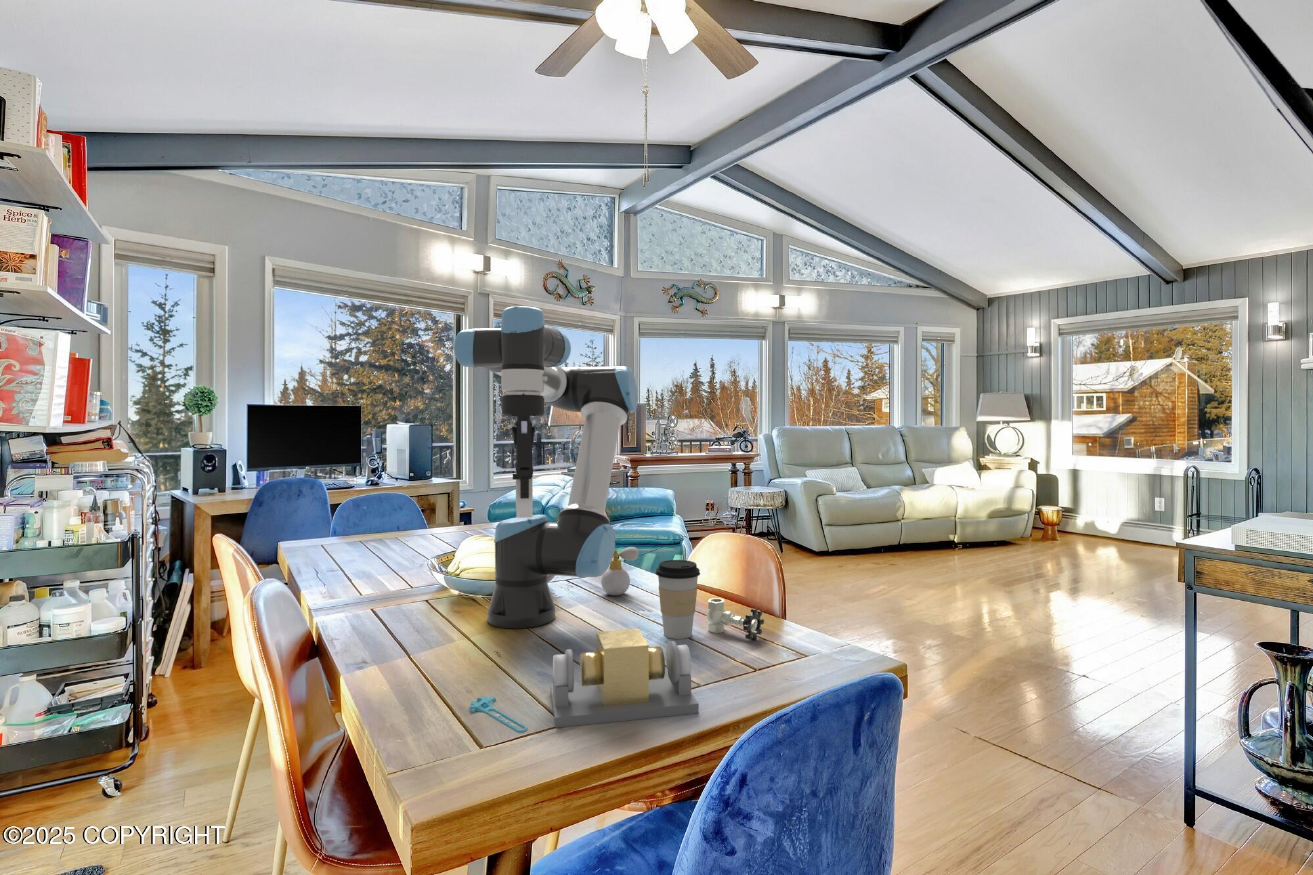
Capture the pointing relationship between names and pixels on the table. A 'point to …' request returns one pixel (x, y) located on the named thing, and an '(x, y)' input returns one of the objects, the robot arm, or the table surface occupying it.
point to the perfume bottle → (618, 572)
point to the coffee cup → (677, 596)
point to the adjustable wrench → (486, 705)
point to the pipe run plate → (587, 706)
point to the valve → (732, 619)
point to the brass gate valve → (622, 667)
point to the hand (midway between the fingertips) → (523, 511)
